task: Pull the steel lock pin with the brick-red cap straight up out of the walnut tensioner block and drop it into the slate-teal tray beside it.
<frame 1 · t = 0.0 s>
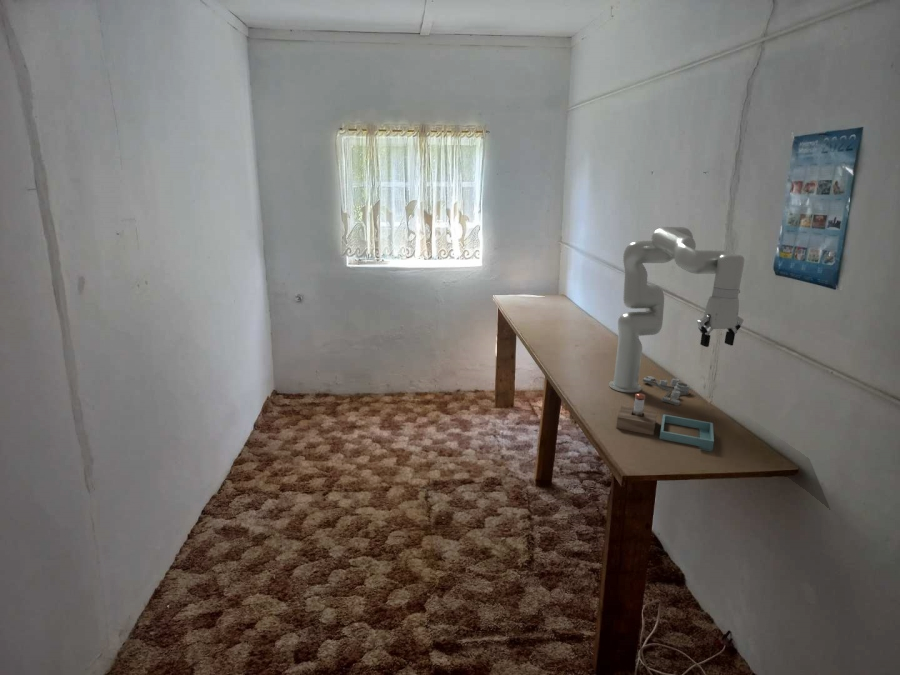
hand: (716, 345, 189), 31 cm above the table, tool pointing down, fingers open, 9 cm apart
tensioner block: (635, 427, 200), on the table
tray: (685, 436, 194), on the table
lock pin: (636, 424, 200), point 1 cm above the table, touching tensioner block
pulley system: (669, 393, 236), on the table
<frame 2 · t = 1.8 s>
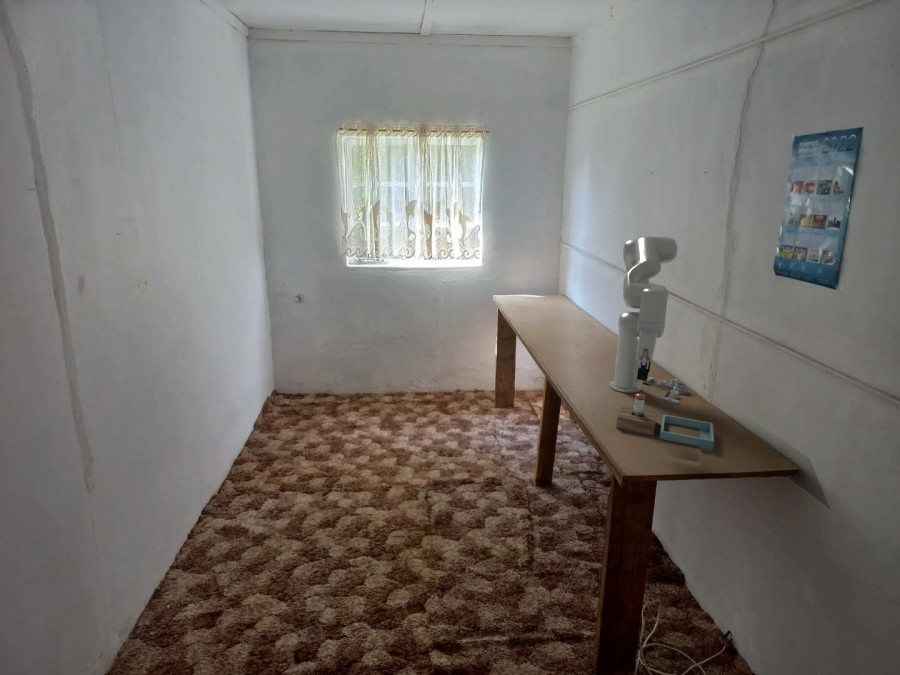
hand: (643, 375, 195), 19 cm above the table, tool pointing down, fingers open, 9 cm apart
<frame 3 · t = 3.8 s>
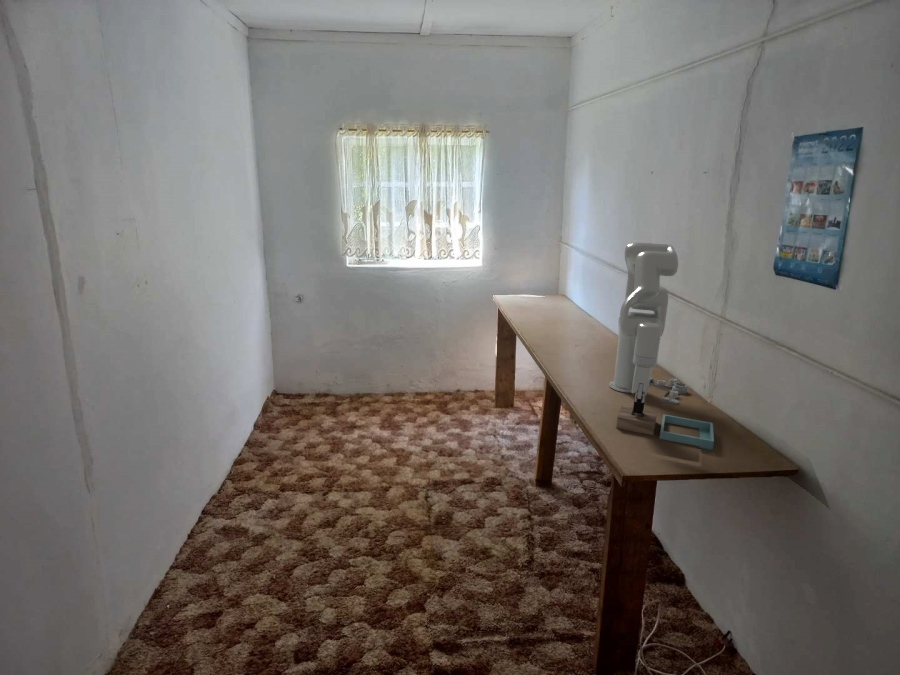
hand: (638, 410, 198), 6 cm above the table, tool pointing down, fingers closed on lock pin, 3 cm apart
lock pin: (636, 424, 200), point 1 cm above the table, touching gripper, tensioner block
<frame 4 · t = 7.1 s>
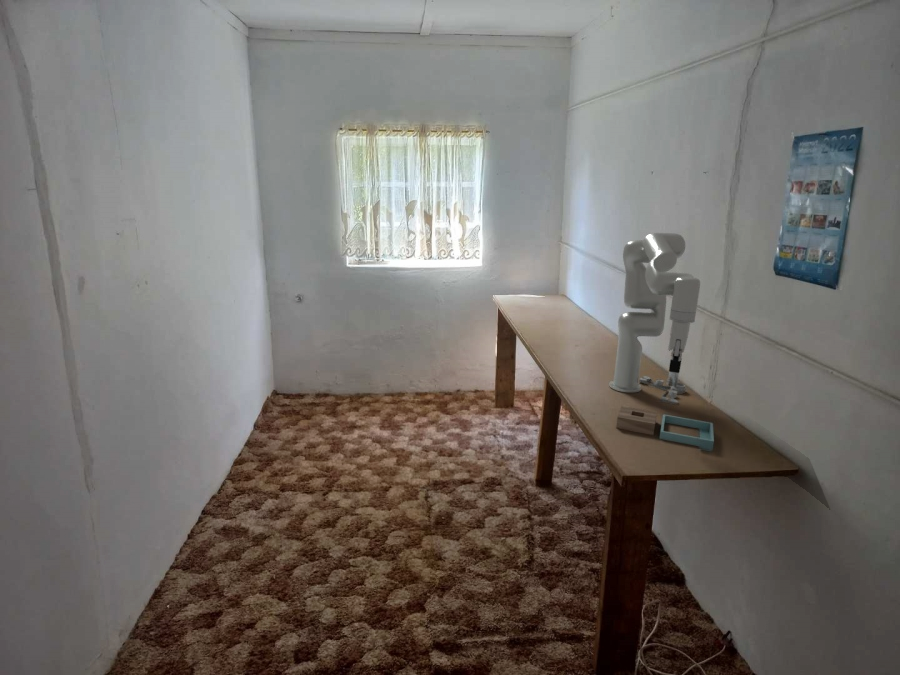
hand: (674, 370, 191), 22 cm above the table, tool pointing down, fingers closed on lock pin, 3 cm apart
lock pin: (672, 385, 192), point 17 cm above the table, touching gripper
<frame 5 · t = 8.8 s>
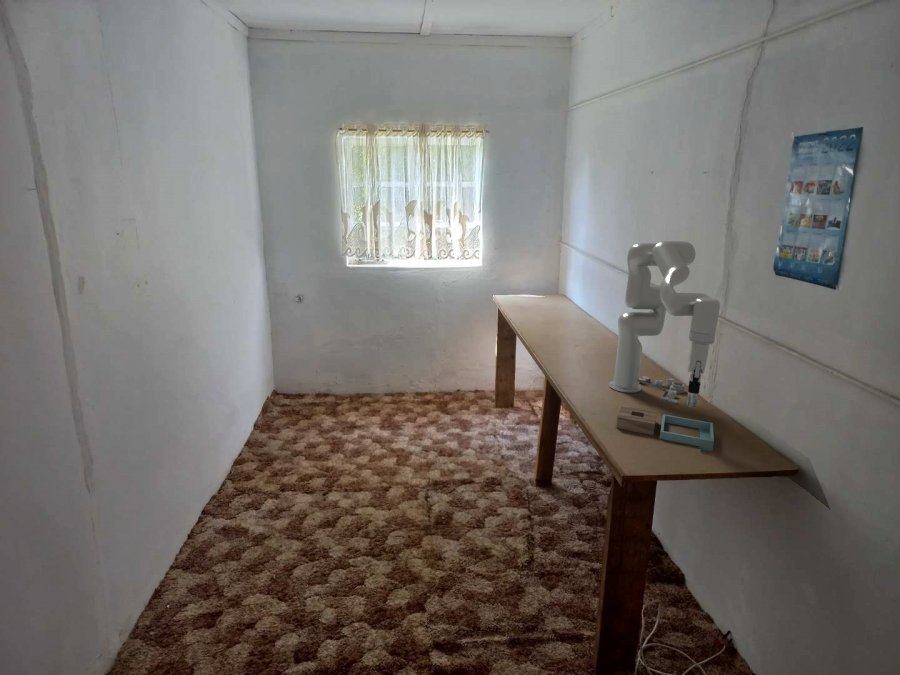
hand: (693, 390, 190), 16 cm above the table, tool pointing down, fingers closed on lock pin, 3 cm apart
lock pin: (691, 405, 191), point 11 cm above the table, touching gripper
when the fingers open (8 cm above the table, at t = 10.5 s): lock pin drops 2 cm, resting on tray.
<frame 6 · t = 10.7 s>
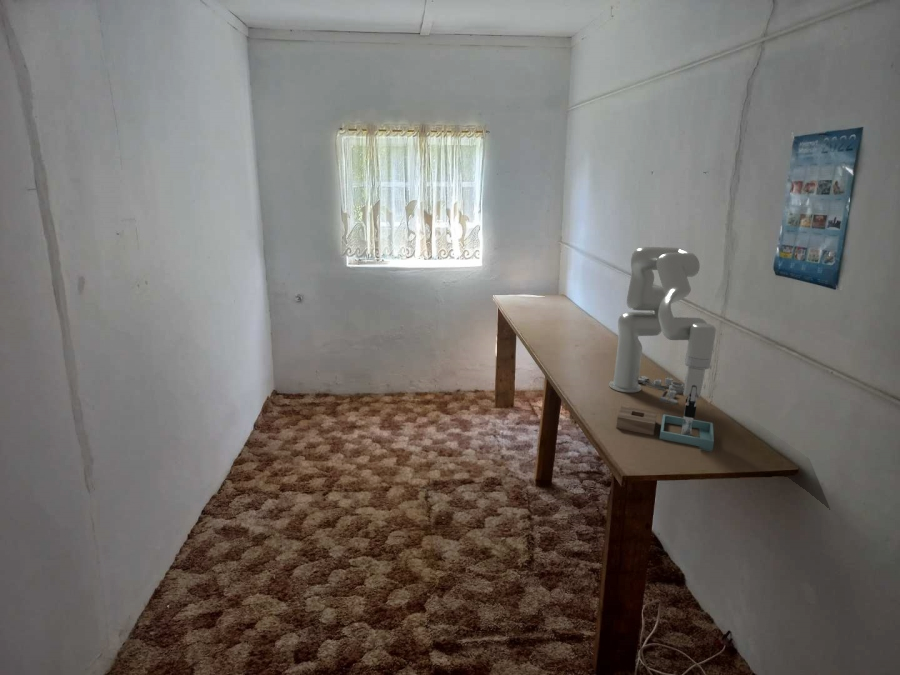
hand: (689, 413, 192), 8 cm above the table, tool pointing down, fingers open, 5 cm apart
lock pin: (685, 435, 194), point 1 cm above the table, touching tray
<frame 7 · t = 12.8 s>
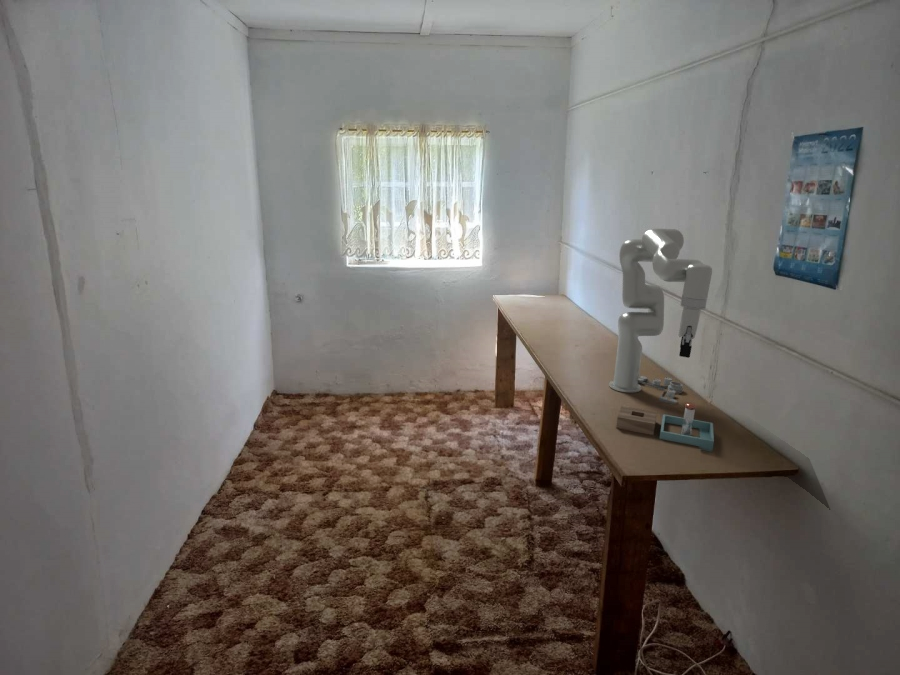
hand: (684, 352, 194), 27 cm above the table, tool pointing down, fingers open, 9 cm apart
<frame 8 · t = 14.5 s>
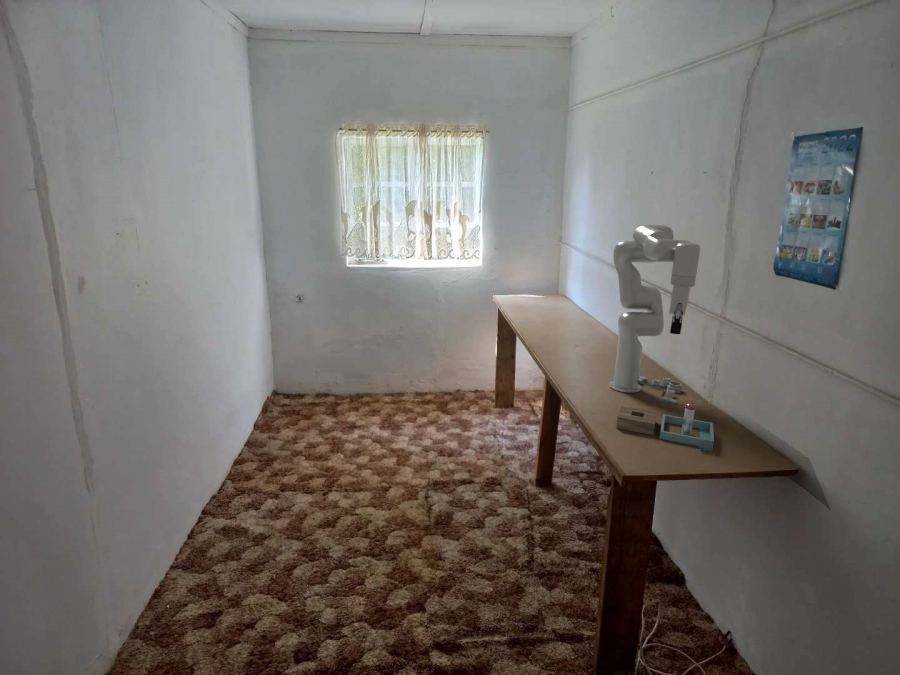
hand: (675, 330, 197), 33 cm above the table, tool pointing down, fingers open, 9 cm apart
at the end: lock pin inside the target area on the tray (0.0 cm from its centre), point 0.6 cm above the tray's base; the gripper is holding nothing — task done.
